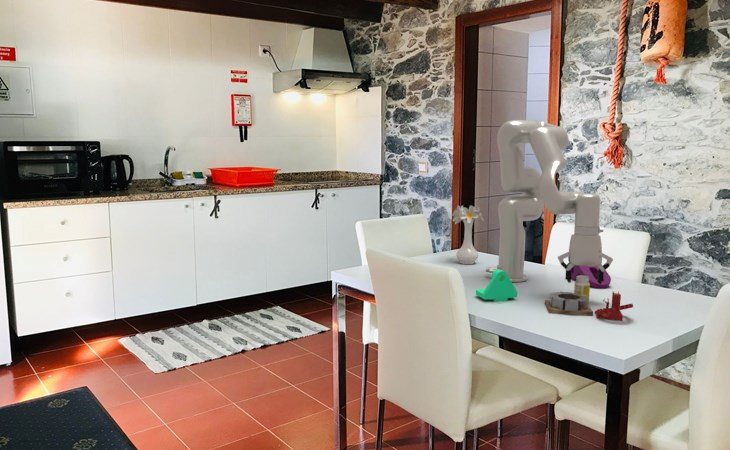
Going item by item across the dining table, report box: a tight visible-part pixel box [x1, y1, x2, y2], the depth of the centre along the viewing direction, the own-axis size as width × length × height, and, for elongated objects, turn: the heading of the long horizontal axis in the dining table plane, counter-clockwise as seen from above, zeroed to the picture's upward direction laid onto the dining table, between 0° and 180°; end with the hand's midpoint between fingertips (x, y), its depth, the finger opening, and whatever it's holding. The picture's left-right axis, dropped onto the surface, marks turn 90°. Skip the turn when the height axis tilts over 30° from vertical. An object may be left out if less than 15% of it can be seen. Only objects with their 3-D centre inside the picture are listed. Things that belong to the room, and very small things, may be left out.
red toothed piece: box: [594, 291, 634, 322], centre depth 186 cm, size 11×12×8 cm
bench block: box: [544, 299, 594, 317], centre depth 194 cm, size 13×11×1 cm
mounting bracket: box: [570, 263, 612, 289], centre depth 231 cm, size 9×8×18 cm
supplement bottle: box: [573, 275, 591, 300], centre depth 204 cm, size 5×5×8 cm
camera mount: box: [475, 269, 518, 302], centre depth 206 cm, size 12×8×10 cm, turn 105°
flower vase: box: [451, 205, 485, 265], centre depth 261 cm, size 13×18×25 cm
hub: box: [548, 291, 590, 311], centre depth 194 cm, size 11×11×4 cm
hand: (584, 282), depth 203 cm, fingers open, 9 cm apart
